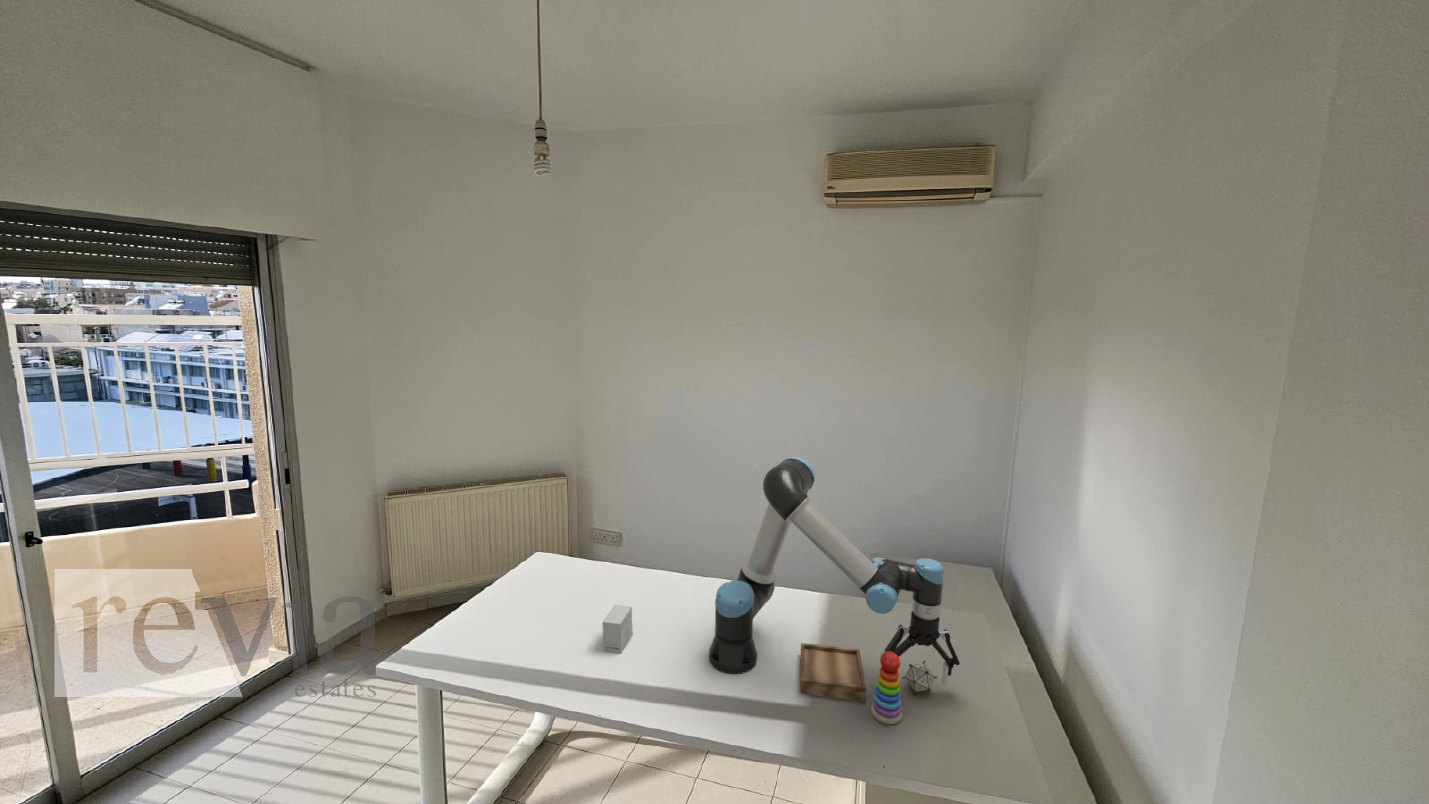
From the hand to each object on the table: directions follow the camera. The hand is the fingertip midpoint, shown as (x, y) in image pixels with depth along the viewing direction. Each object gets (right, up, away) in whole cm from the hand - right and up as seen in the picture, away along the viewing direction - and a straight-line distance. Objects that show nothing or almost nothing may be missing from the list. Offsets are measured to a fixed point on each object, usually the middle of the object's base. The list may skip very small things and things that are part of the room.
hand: (919, 681), depth 157 cm
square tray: (-25, -1, +5) cm, 25 cm away
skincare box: (-91, +2, +20) cm, 93 cm away
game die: (0, -3, 0) cm, 3 cm away
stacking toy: (-13, -4, -10) cm, 17 cm away
